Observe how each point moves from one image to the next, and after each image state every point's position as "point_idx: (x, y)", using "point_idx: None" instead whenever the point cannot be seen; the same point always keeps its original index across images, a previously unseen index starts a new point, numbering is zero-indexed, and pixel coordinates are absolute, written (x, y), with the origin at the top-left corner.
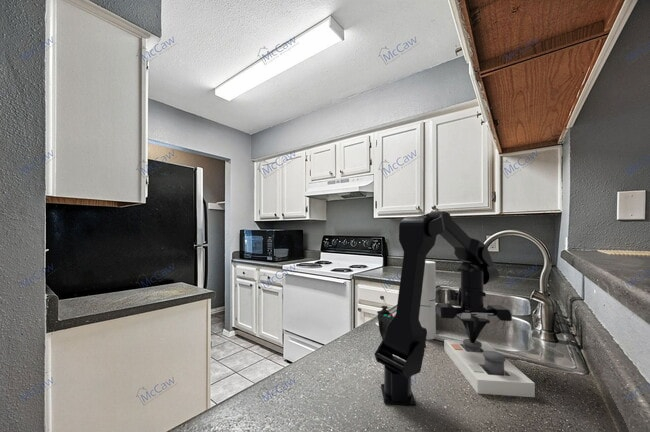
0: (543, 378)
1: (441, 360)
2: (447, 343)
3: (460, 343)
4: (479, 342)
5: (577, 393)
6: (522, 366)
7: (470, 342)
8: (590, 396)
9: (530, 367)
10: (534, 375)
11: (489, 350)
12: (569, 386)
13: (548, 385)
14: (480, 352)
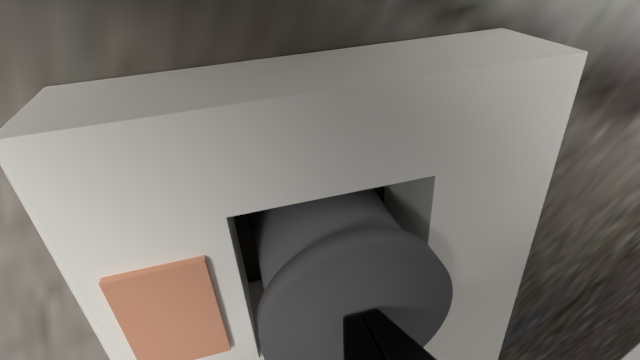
0: (579, 292)
1: (35, 316)
2: (56, 259)
3: (242, 199)
4: (440, 300)
5: (599, 346)
6: (588, 206)
7: (337, 337)
8: (621, 347)
9: (621, 203)
10: (563, 281)
11: (475, 265)
12: (620, 313)
13: (548, 337)
14: None
